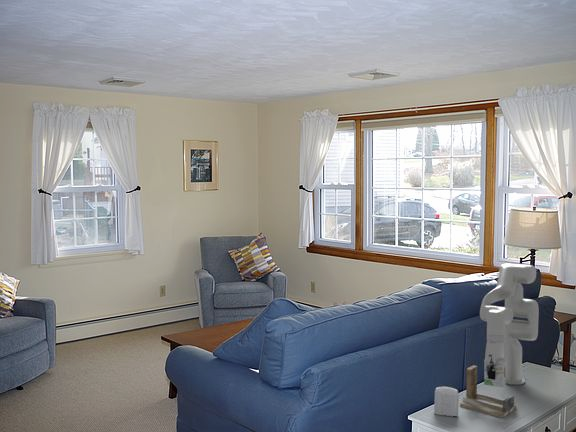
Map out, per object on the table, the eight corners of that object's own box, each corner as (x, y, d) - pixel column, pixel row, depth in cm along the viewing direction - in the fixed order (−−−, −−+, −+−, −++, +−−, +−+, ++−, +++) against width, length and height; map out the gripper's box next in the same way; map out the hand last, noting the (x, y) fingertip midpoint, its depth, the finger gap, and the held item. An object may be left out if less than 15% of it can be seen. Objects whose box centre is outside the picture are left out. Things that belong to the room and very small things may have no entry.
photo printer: (458, 414, 269) (458, 386, 268) (458, 417, 265) (458, 390, 264) (434, 411, 272) (434, 384, 271) (433, 415, 268) (434, 387, 267)
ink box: (505, 384, 273) (506, 358, 273) (503, 388, 269) (504, 361, 268) (485, 381, 278) (486, 355, 277) (483, 384, 273) (484, 358, 272)
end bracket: (472, 396, 285) (473, 365, 283) (476, 397, 283) (477, 366, 282) (466, 400, 280) (466, 368, 279) (470, 401, 279) (470, 369, 277)
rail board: (474, 397, 288) (474, 383, 288) (516, 408, 275) (516, 394, 274) (460, 405, 278) (460, 391, 277) (502, 417, 264) (503, 403, 264)
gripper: (495, 332, 281) (495, 370, 282) (478, 340, 268) (478, 380, 269) (511, 335, 275) (511, 374, 277) (495, 343, 263) (494, 384, 264)
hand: (494, 376), depth 273 cm, fingers closed on ink box, 6 cm apart
